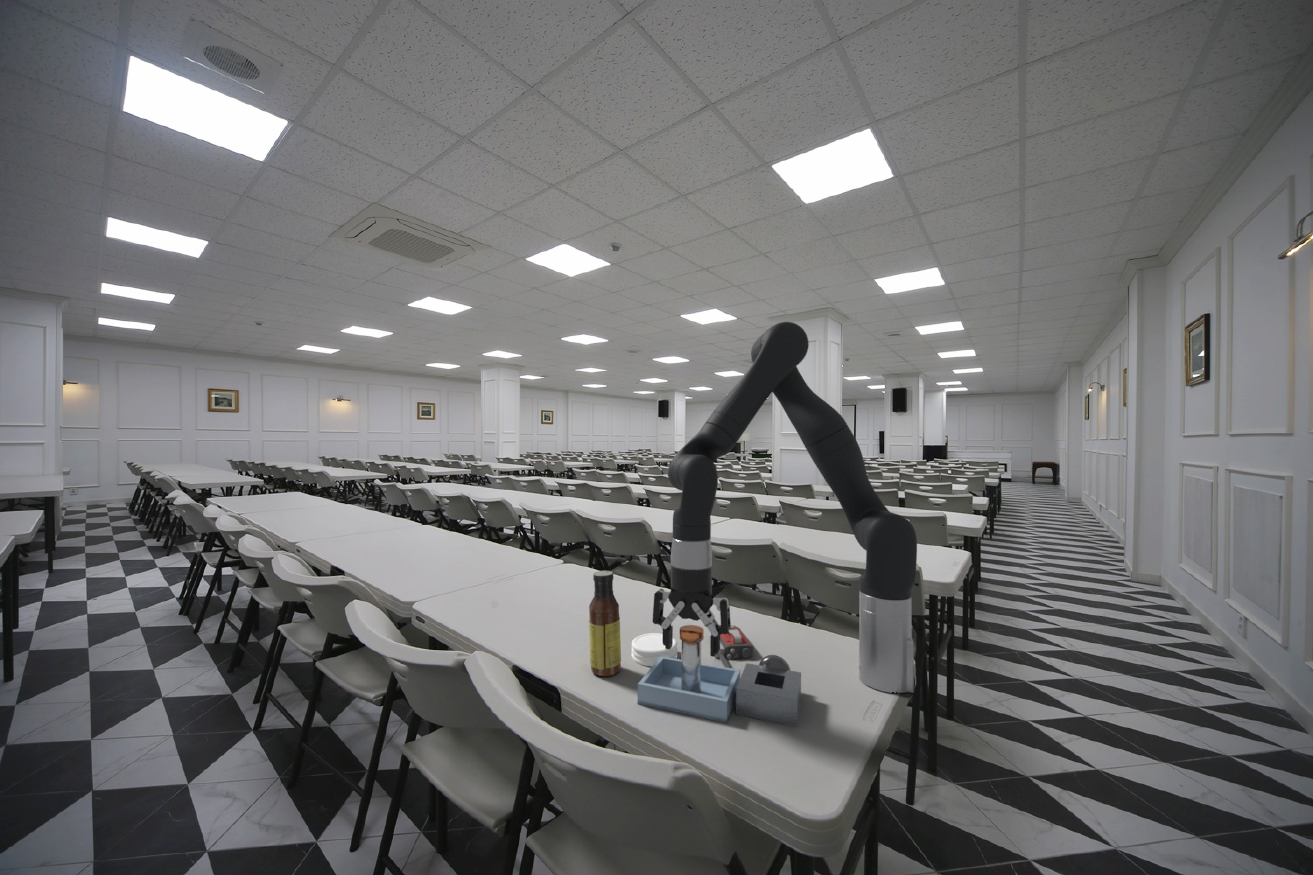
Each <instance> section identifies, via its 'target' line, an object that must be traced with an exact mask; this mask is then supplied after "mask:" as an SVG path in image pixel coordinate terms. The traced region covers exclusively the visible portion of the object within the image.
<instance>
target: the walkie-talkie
mask: <svg viewBox="0 0 1313 875" xmlns="http://www.w3.org/2000/svg"><path fill="white" fill-rule="evenodd" d="M711 635H712V634H711V633H710V636H711ZM753 657H754V645H753V644H752V643H751V641H750V640H749V638H748V637H747V636H746V635H745V634H744V632H743V631H742V630H741V628H740V627H738V626H736V625H731V628H730V630H729V631H728V633H727V634H721V635H720V650H719V652H718V654H716V655H715V657H714V658H715V659H720V661H721V663H722V664H723V667H726V668H732V667H731V665H730V663H729V662H728V660H731V659H748V658H749V659H750V658H753ZM727 659H728V660H727Z"/></svg>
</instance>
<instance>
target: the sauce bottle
mask: <svg viewBox="0 0 1313 875" xmlns="http://www.w3.org/2000/svg"><path fill="white" fill-rule="evenodd" d="M592 576H593V578H592V579H593V582H594V596H593V598H592V599H591V602H590V603H589V607H588V609H589V611H588V612H589V620H588V621H589V623H588V624H589V626H588V628H589V660H590V662H589V664H590V670H591V672H592V673H593V675H595V676H597V675H598V677H599V676H600V677H611V676H614V675H616V674H618V673H619V672H620V671H621V667H622V665H621V661H622V651H621V650H622V648H621V647H622V646H621V618H620V617H621V616H620V605H619V602H618V601H617V599H616V597H615V595H614V590H613V589H614V586H613V584H614V583H613V581H614V572H613V571H611V570H599V571H596V572H594V573H593V575H592Z"/></svg>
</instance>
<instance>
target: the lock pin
mask: <svg viewBox="0 0 1313 875" xmlns="http://www.w3.org/2000/svg"><path fill="white" fill-rule="evenodd" d="M704 637H705V636H704V628H703V627H702V626H699V625H695V624H686V625H683V626H681V627H680V628H679V639H680V641H681V659H680V660H681V690H684V691H689V692H694V693H699V694H701V663H702V641H703V640H704V639H705V638H704Z"/></svg>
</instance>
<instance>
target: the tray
mask: <svg viewBox="0 0 1313 875" xmlns="http://www.w3.org/2000/svg"><path fill="white" fill-rule="evenodd" d="M740 678H741V669H737V668H732V667H731V668H726V667H725V666H720V665H719V666H718V665H714V664H707V663H703V662H701V694H699V693H694V692H689V691H684V690H681V659H679V658H677V659H674V658H668V657H663V656H661V657H660V658H659V659H658V660H657V661H656V663H655V664H654V665H653V666H652V667H651V666H650V668H649V670H648V671H647V672H646V673H645V675H644V676H643V677H642V678H641V679H640V681H639V682H638V683H637V704H638V705H641V706H646V707H650V708H656V709H660V710H665V711H670V712H674V713H678V714H684V715H686V716H687V715H688V716H692V717H698V718H701V719H707V720H710V721H711V720H712V721H716V722H719V723H726V724H727V723H728V721H729V719H730V715H731V713H732V710H733V707H734V705H735V704H736V688H737V685H738V683H739V680H740Z"/></svg>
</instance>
